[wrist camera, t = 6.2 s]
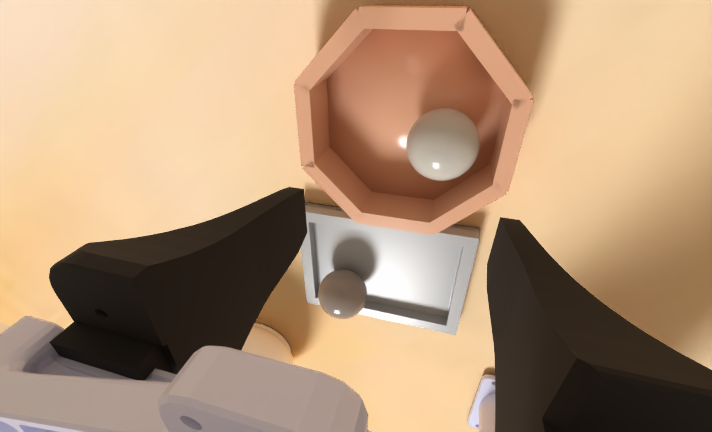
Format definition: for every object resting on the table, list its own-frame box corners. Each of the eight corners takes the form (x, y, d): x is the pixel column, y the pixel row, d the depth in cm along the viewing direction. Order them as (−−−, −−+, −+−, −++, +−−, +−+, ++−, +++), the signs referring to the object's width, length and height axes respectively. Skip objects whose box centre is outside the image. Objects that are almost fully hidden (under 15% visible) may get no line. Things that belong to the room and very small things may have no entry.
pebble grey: (457, 97, 18) (503, 115, 15) (448, 160, 20) (487, 186, 17) (396, 103, 17) (433, 124, 14) (392, 168, 19) (424, 198, 16)
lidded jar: (295, 387, 39) (252, 483, 31) (211, 343, 39) (148, 429, 31) (327, 341, 32) (283, 446, 25) (227, 288, 32) (153, 378, 25)
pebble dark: (372, 263, 25) (360, 298, 22) (371, 298, 27) (359, 334, 24) (326, 255, 26) (308, 288, 23) (328, 289, 28) (312, 323, 25)
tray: (479, 228, 22) (479, 238, 21) (456, 322, 27) (455, 335, 26) (303, 202, 24) (296, 210, 23) (312, 292, 29) (306, 302, 28)
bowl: (544, 6, 15) (559, 9, 13) (490, 216, 21) (493, 244, 19) (311, 4, 18) (286, 6, 15) (322, 192, 24) (305, 215, 21)
